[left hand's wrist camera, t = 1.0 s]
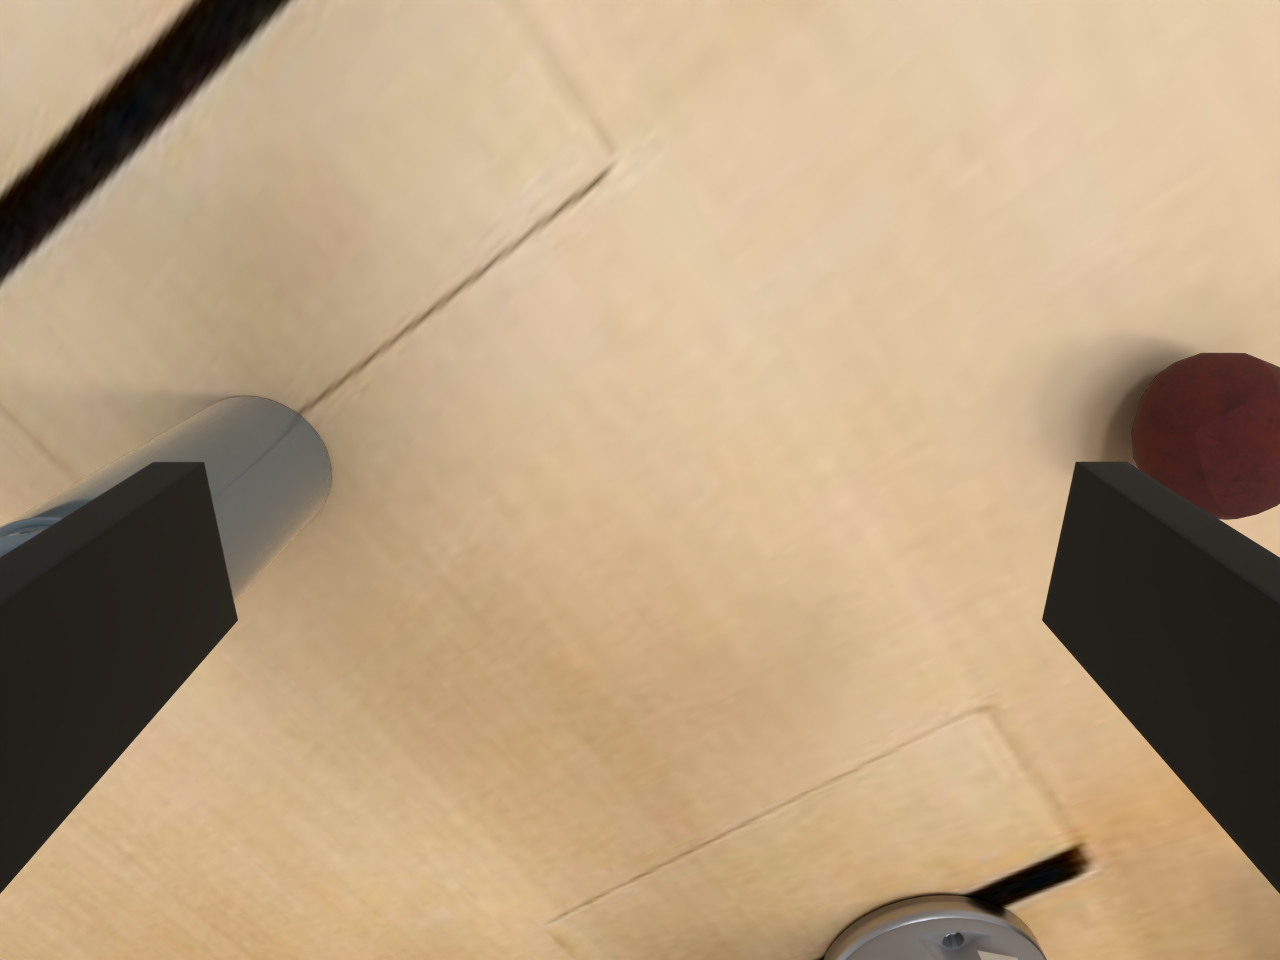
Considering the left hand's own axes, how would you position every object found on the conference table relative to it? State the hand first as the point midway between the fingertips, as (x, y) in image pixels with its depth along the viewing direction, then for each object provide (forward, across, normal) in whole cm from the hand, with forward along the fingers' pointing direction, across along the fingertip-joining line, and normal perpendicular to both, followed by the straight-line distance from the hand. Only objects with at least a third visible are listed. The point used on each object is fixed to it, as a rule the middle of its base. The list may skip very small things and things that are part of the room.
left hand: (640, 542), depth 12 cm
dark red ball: (+28, +27, -6) cm, 39 cm away
